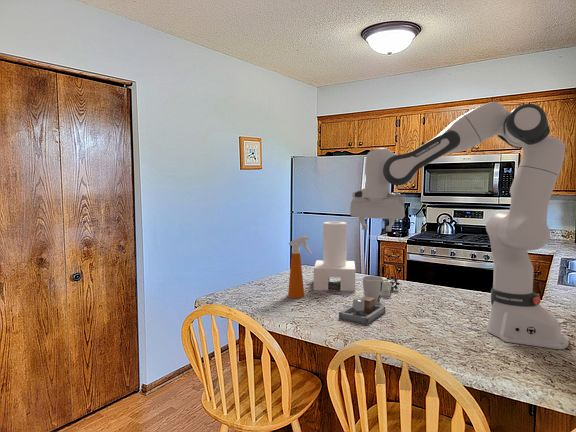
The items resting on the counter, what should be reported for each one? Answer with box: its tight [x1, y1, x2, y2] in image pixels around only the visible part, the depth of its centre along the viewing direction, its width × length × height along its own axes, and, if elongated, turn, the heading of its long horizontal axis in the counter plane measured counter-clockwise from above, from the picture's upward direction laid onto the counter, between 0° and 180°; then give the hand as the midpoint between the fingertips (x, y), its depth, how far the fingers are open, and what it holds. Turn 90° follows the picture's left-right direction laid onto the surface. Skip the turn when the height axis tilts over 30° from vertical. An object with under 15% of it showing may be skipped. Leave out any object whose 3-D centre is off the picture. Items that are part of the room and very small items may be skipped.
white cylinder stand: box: [313, 221, 356, 292], centre depth 187 cm, size 19×19×30 cm
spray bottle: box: [287, 235, 313, 299], centre depth 169 cm, size 7×11×26 cm, turn 71°
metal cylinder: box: [352, 298, 364, 317], centre depth 142 cm, size 4×4×6 cm
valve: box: [381, 275, 401, 297], centre depth 174 cm, size 7×7×12 cm
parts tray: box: [338, 304, 386, 326], centre depth 145 cm, size 11×16×2 cm
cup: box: [362, 275, 384, 305], centre depth 161 cm, size 8×8×10 cm
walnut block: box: [359, 295, 376, 314], centre depth 148 cm, size 4×4×5 cm
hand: (376, 230), depth 146 cm, fingers open, 8 cm apart
